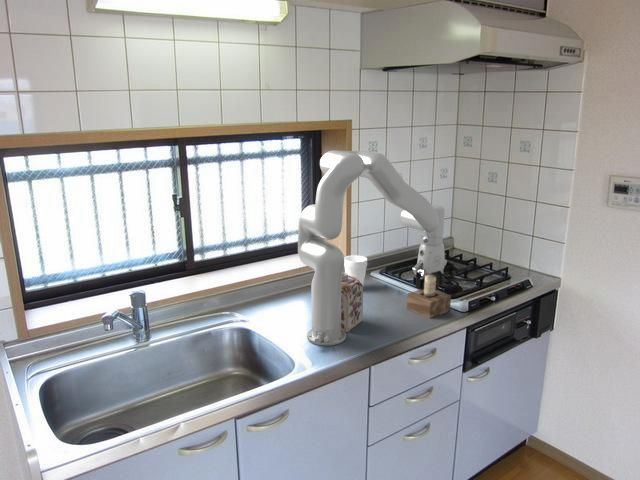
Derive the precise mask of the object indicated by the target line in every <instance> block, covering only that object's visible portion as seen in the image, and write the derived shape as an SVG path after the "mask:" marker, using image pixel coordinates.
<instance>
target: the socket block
mask: <svg viewBox="0 0 640 480" xmlns="http://www.w3.org/2000/svg"><path fill="white" fill-rule="evenodd" d="M406 298H407V300H406V301H407V302H406V310H409V311H411V312H414V313H416V314H418V315H421V316H423V317H425V318H428V319H432V318H434V316H435V317H437V315H438V316H440V315H443V314H445V312H446V313H448V312H447V311H449V310H450V311H451V306H452V305H451V303H452V299H451V298H452V295H451V294H447V293H446V292H443V291H439V290H437V289H435V297H432V298H428V297H425V296H424V289H423V290H421V289H418V290H415V291H412V292H411V291H410V292H408V293H407V297H406ZM450 311H449V312H450ZM442 313H443V314H442ZM439 314H440V315H439Z"/></svg>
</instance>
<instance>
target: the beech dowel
mask: <svg viewBox="0 0 640 480" xmlns="http://www.w3.org/2000/svg"><path fill="white" fill-rule="evenodd" d="M436 284H437V283H436V276H435V275H434V274H432V273H431V274H425V276H424V296H425V297H428V298H432V297H435V290H436V287H437V285H436Z"/></svg>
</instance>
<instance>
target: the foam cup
mask: <svg viewBox="0 0 640 480" xmlns="http://www.w3.org/2000/svg"><path fill="white" fill-rule="evenodd" d="M367 266H368V258H367V257H366V256H364V255H357V254H356V255H355V254H354V255H347V256H344V273H347V274H348V276H353V277H355V278H356V279H357V280H359V281H360V283H361V284H362V285H363V287H364V285H365V284H364V283H365V278H366V271H367Z"/></svg>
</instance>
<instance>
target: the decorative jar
mask: <svg viewBox="0 0 640 480" xmlns="http://www.w3.org/2000/svg"><path fill="white" fill-rule="evenodd" d="M363 313H364V286H363V285H362V284H361V283H360V281H359V280H357V279H356V278H355V277H353V276H348V274H347V273H345V271H343V273H342V282H341V329H342V330H343V331H344V332H345V333H349V332H350V331H351V330H352V329H354V328H355V327H357V326H358V325H359V324H360V323H361V322H362V321H363V318H364V317H363V315H364V314H363Z"/></svg>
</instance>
